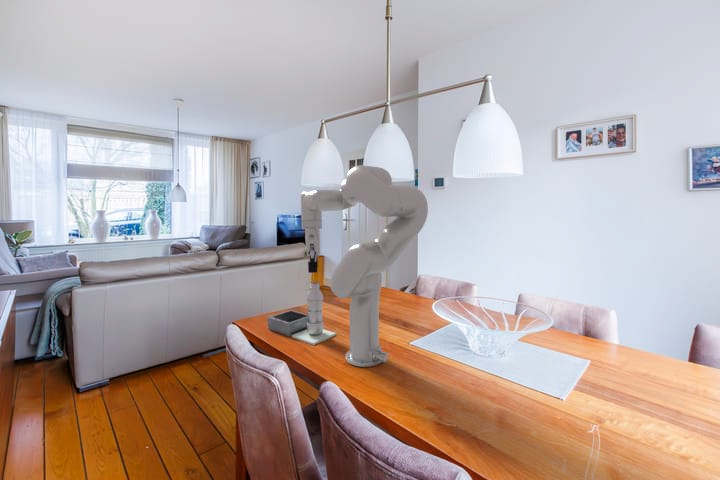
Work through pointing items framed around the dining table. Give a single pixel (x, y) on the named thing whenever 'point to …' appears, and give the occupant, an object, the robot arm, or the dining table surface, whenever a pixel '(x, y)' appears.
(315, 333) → the plastic bottle
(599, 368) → the dining table surface
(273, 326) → the steel collar
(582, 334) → the dining table surface
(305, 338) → the mat
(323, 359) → the dining table surface
